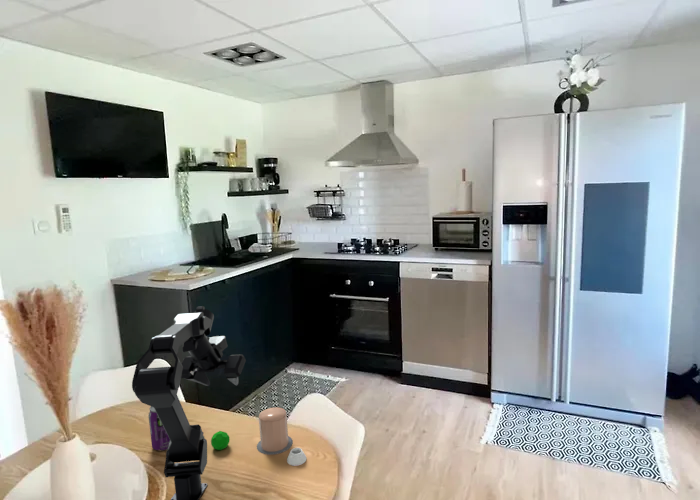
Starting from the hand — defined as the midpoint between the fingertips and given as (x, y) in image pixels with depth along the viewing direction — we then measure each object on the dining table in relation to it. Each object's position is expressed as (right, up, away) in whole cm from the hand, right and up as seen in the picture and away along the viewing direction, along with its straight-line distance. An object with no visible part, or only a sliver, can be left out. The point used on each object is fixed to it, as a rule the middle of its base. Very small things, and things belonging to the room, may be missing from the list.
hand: (223, 384), depth 128 cm
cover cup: (+16, -16, -4) cm, 22 cm away
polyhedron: (+1, -17, -4) cm, 17 cm away
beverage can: (-16, -17, -1) cm, 24 cm away
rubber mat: (+16, -16, -4) cm, 23 cm away
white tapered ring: (+23, -17, -12) cm, 31 cm away
